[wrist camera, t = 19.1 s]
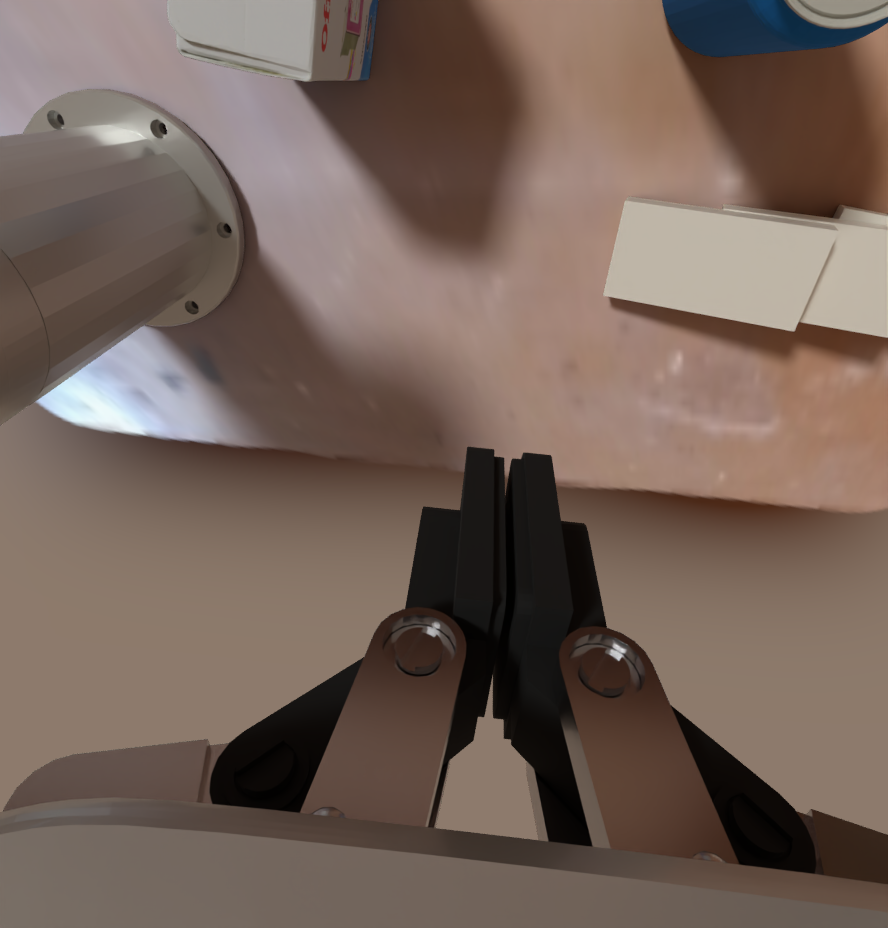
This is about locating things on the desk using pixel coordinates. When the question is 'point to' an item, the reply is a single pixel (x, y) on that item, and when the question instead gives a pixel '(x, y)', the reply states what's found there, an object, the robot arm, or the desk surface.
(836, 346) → the desk surface
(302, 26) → the ink box
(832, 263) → the domino
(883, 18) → the beverage can
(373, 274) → the desk surface
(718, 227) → the domino
